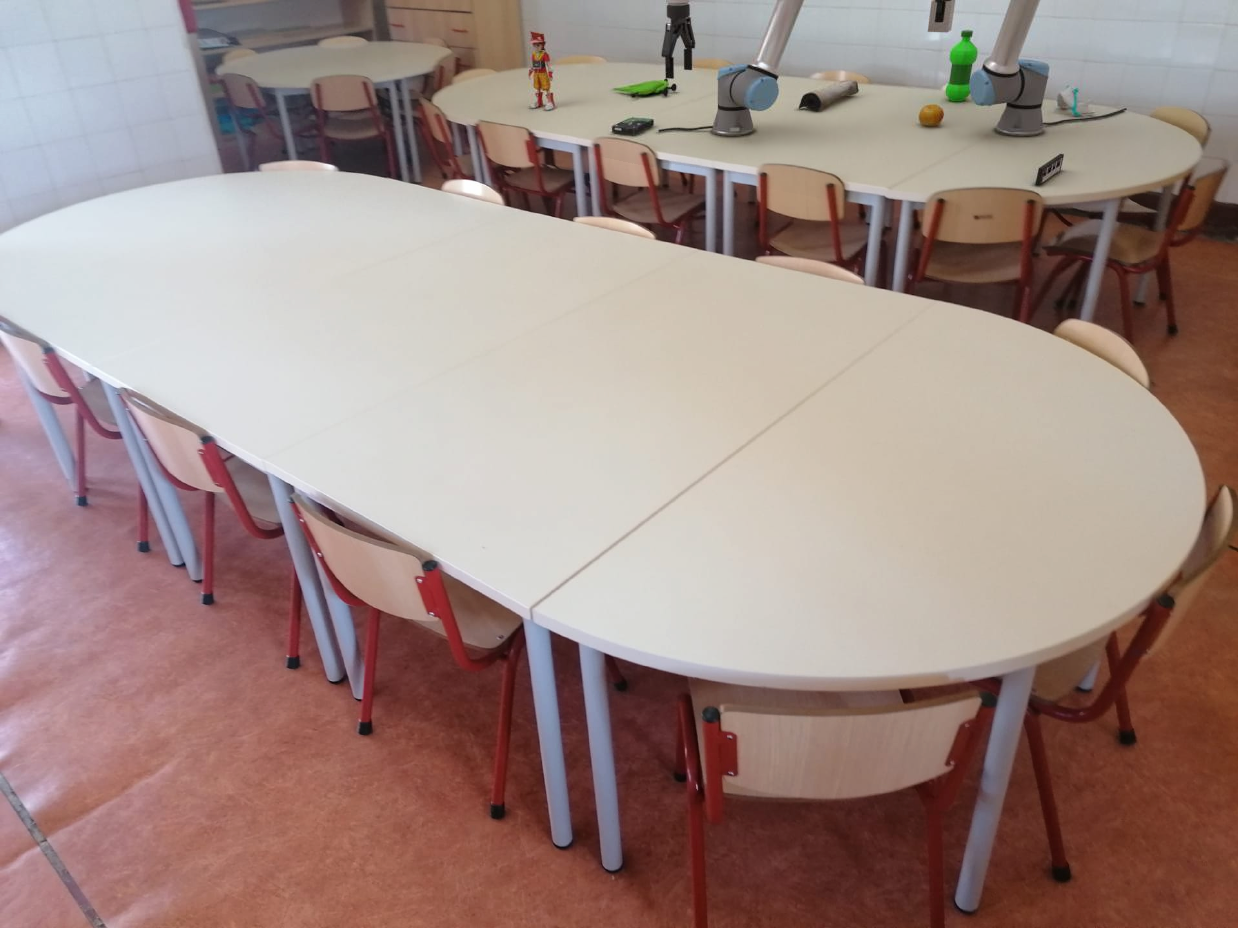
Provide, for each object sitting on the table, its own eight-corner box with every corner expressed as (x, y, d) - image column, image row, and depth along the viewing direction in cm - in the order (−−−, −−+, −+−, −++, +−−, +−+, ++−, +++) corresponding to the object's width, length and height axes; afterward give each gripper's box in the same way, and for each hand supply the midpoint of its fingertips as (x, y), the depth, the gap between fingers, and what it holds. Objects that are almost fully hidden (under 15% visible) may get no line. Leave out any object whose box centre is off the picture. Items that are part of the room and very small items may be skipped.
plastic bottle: (975, 99, 356) (987, 30, 342) (958, 104, 351) (969, 35, 337) (955, 95, 363) (965, 28, 349) (937, 100, 358) (947, 32, 344)
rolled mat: (834, 85, 375) (850, 69, 367) (846, 103, 376) (863, 88, 367) (794, 103, 358) (811, 87, 350) (807, 122, 358) (824, 107, 350)
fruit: (913, 117, 326) (928, 97, 323) (915, 120, 333) (929, 101, 330) (933, 130, 324) (947, 110, 321) (933, 133, 332) (948, 113, 329)
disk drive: (634, 136, 338) (654, 126, 348) (634, 128, 336) (654, 118, 346) (611, 133, 343) (631, 123, 353) (611, 126, 341) (631, 116, 351)
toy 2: (686, 85, 398) (631, 84, 414) (685, 72, 395) (629, 72, 411) (651, 104, 381) (596, 103, 397) (650, 92, 378) (594, 91, 394)
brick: (927, 32, 327) (931, 1, 321) (931, 29, 331) (935, -1, 325) (947, 32, 324) (951, 1, 318) (951, 30, 328) (955, -1, 322)
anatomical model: (1050, 84, 335) (1077, 77, 334) (1049, 112, 341) (1076, 105, 340) (1070, 94, 323) (1098, 86, 322) (1069, 123, 328) (1096, 115, 328)
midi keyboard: (1039, 185, 269) (1043, 168, 266) (1035, 184, 270) (1038, 168, 267) (1060, 170, 279) (1064, 154, 277) (1056, 169, 280) (1060, 153, 277)
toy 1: (525, 109, 381) (517, 32, 364) (534, 104, 388) (527, 28, 371) (550, 110, 377) (543, 32, 360) (559, 105, 384) (553, 28, 367)
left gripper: (670, 10, 279) (672, 83, 291) (705, -2, 296) (705, 67, 308) (649, 10, 282) (651, 81, 294) (685, -3, 299) (685, 66, 311)
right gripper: (955, -50, 304) (944, 25, 317) (968, -56, 317) (957, 17, 330) (932, -50, 308) (923, 25, 321) (946, -55, 320) (937, 16, 334)
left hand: (679, 74), depth 301 cm, fingers open, 13 cm apart
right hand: (940, 21), depth 325 cm, fingers closed on brick, 5 cm apart
